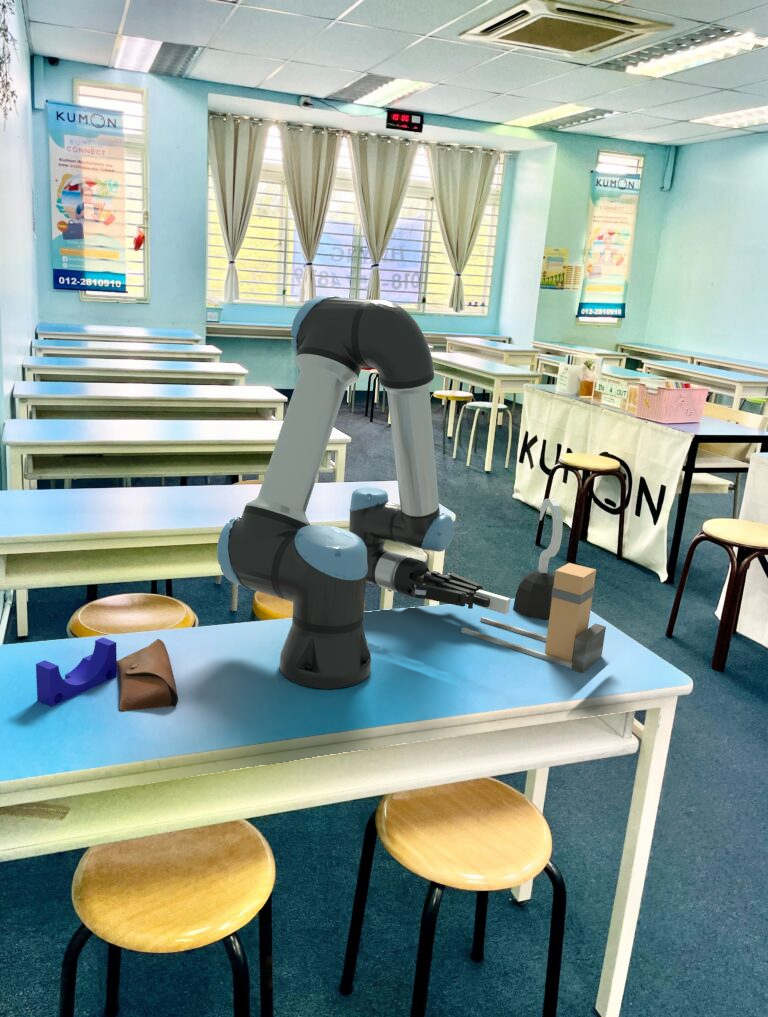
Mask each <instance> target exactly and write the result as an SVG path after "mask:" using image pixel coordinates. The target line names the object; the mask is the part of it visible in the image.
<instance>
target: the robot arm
mask: <svg viewBox="0 0 768 1017" xmlns="http://www.w3.org/2000/svg"><path fill="white" fill-rule="evenodd" d="M292 321H293V322H292V323H291V324H292V325H291V329H290V336H292V339H291V341H290V342H291V347H292V350H293V352H294V354H295V355H296V356H295V359H294V361H295V363H296V365H297V367H298V369H299V374H298V377H297V379H296V380H297V381H296V382H295V385H294V386H295V387H294V390H293V392H292V395H291V398H290V401H289V404H288V407H287V409H286V412H285V416H284V419H283V422H282V424H281V428H280V430H279V433H278V436H277V440H276V442H275V445H274V448H273V451H272V454H271V458H270V459H269V462H268V465H267V469H266V471H265V475H264V478H263V480H262V483H261V486H260V489H259V493H258V496H257V497H256V498H255V499H253V500H251V501H249V502H247V503H246V504H245V506H244V509H243V512H242V514H241V515H239V516H235V517H232V518H231V519H230V520H229V522H228V523H226V524H225V525H224V526H223V527H222V530H221V532H220V534H219V537H218V541H217V547H216V554H217V555H216V556H217V562H218V565H219V566H220V570H221V573H222V575H223V576H224V577H225V578H226V579H227V580H228V581H230V582H231V583H233V584H235V585H238V586H241V587H242V588H243V589H245V590H249V591H256V592H259V593H262V594H265V595H269V596H272V597H275V598H279V599H282V600H285V601H289V602H292V621H291V622H292V623H291V625H290V628H289V632H288V634H287V636H286V638H285V641H284V643H283V646H282V649H281V652H280V655H279V670H280V672H281V674H282V675H283V677H285V678H286V679H287V680H289V681H291V682H292V683H295V684H297V685H299V686H300V685H301V686H303V687H309V688H313V689H314V688H315V689H325V690H330V689H342V688H347V687H352V686H355V685H357V684H359V683H361V682H363V681H365V680H366V679H367V678H368V677H369V676H370V673H371V671H372V670H371V665H372V655H371V652H370V648H369V644H368V640H367V638H366V637H367V636H366V634H365V629H364V616H365V615H364V613H365V600H366V599H365V598H366V588H367V587H366V586H367V584H371V585H374V586H376V587H379V588H383V589H385V590H387V591H388V592H389V593H390V592H395V593H398V594H400V595H404V596H407V597H409V598H416V599H424V600H429V601H430V600H431V601H435V602H440V603H444V604H449V605H453V606H459V607H465V606H466V605H467V609H469V610H470V609H471V610H472V609H473V607H474V606H477V607H480V608H484V609H487V610H489V611H492V612H493V611H494V612H497V613H500V614H503V615H506V614H508V613H510V605H511V600H512V599H511V597H507V596H503V595H500V594H496V593H493V592H490V591H486V590H483V588H484V586H483V584H481V583H478V582H476V581H473V580H470V579H468V578H466V577H463V576H460V575H459V574H457V573H455V572H454V571H452V570H448V571H447V573H446V574H441V573H440V572H439V571H436V570H430V569H429V567H428V565H427V563H426V562H425V561H423V560H421V559H417V558H413V557H411V556H410V557H409V556H407V555H404V554H401V553H396V552H394V551H389V550H386V549H385V543H386V541H388V542H393V543H397V544H401V545H406V546H409V547H414V548H418V549H421V550H423V551H425V550H426V551H431V552H437V553H440V552H443V551H445V550H446V549H447V548H448V547H449V546H450V545H451V542H452V540H453V537H454V532H455V523H454V521H453V519H452V517H451V516H450V515H448V514H445V513H444V512H441V510H440V501H439V491H438V481H437V467H436V466H437V465H436V457H435V456H436V454H435V443H434V441H435V440H434V430H433V419H432V406H431V404H432V403H431V394H430V393H431V392H430V385H431V384H432V382H434V380H435V370H434V369H435V368H434V361H433V357H432V354H431V350H430V349H431V348H430V347H429V344H428V341H427V339H426V336H425V335H424V333H423V331H422V330H421V327H420V326H419V324H418V322H416V320H415V319H414V318H413V317H412V315H411V314H410V313H409V312H408V311H407V310H405V308H403V307H401V306H400V305H398V304H397V303H395V302H393V301H390V300H386V299H385V300H384V299H364V298H348V297H340V296H333V295H332V296H331V295H330V296H321V297H319V296H318V297H314V298H312V299H309V300H308V301H306V302H305V303H303V304H302V306H301V307H300V308H299V309H298V311H297V313H296V314H295V316H294V318H293V320H292ZM362 368H370V369H375V370H376V372H377V373H378V376H379V377H378V378H379V384H380V385H381V387H382V388H384V389H385V390H386V394H387V395H386V396H387V403H388V405H387V406H388V412H389V418H390V419H389V420H390V421H389V422H390V429H391V438H392V445H393V454H394V462H395V471H396V480H397V486H398V487H397V488H398V498H399V503H400V504H398V503H393V502H389V495H388V492H387V491H385V490H383V489H381V488H376V487H359V488H356V489H355V490H353V491H352V493H351V499H350V508H349V524H348V526H349V528H348V530H347V529H345V528H342V527H337V526H335V525H334V526H333V525H330V526H328V525H324V524H311V523H310V522H309V519H308V516H307V514H306V511H307V508H308V506H309V504H310V503H309V502H310V499H311V497H312V494H313V491H314V487H315V484H316V481H317V477H318V475H319V472H320V468H321V466H322V462H323V460H324V457H325V453H326V451H327V447H328V444H329V441H330V439H331V435H332V432H333V428H334V426H335V423H336V421H337V420H336V419H337V416H338V413H339V410H340V407H341V405H342V402H343V399H344V396H345V392H346V389H347V388H348V387H349V386H351V385H354V384H356V383H357V382H358V380H359V377H360V374H361V371H362Z"/></svg>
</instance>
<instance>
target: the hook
mask: <svg viewBox="0 0 768 1017" xmlns="http://www.w3.org/2000/svg"><path fill="white" fill-rule="evenodd" d="M548 508H549V509H550V511H551V518H552V534H551V539H550V544H549V545H548V547H547V548H546V549H543V551H541V552H540V555H539V558H538V568H537V570H536V571H532V572H528V573H526V574H525V575H524V576H523V577H522V578H521V579H520V581H519V584H518V587H517V590H516V594H515V597H514V601H513V602H514V603H513V607H512V610H513V611H515V612H517V613H519V614H520V615H522V616H524V617H527V618H531V619H536V620H537V619H539V620H544V621H549V617H550V609H551V602H552V597H551V596H552V588H553V586H554V578H555V574H553V573H551V572H548V570H549V569H548V568H549V563H550V562H549V561H550V559H551V558H554V557H556V555H557V554H558V552H559V550H560V547H561V543H562V538H563V528H564V527H563V526H564V525H563V524H564V523H563V522H564V521H563V520H564V519H563V513H562V509H561V508H562V507H561V505H560V503H559V502H558V500H557V499H556V498H545V499H543V502H542V504H541V506H540V509H539V510H540V511H539V512H540V513H539V521H542V520H543V517H544V516H545V515H544V514H545V513H546V511H547V509H548Z"/></svg>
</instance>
